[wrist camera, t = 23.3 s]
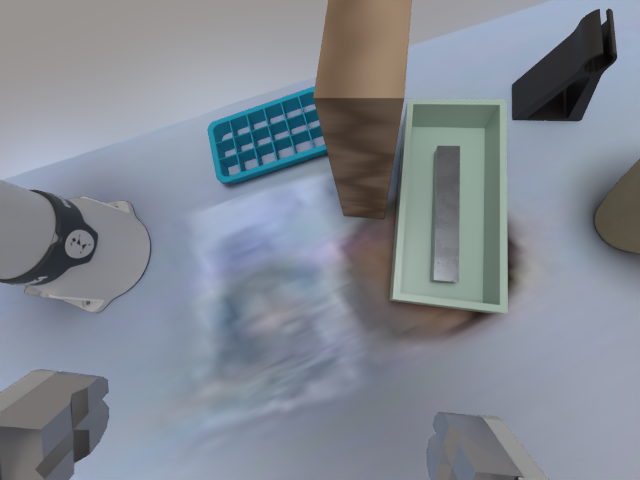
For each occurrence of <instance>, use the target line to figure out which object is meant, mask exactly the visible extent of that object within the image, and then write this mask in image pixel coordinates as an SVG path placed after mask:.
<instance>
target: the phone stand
mask: <svg viewBox="0 0 640 480" xmlns="http://www.w3.org/2000/svg"><path fill="white" fill-rule="evenodd" d="M606 14H607V21H606V22H605V23H603V24H602V25H601V20H600V9H598V10H595V11H593V12H591V13H589V14H588V15H586V16H585V17H584V18H583V19H582V20H581V21H580V23H579V25H578V26H577V28H576V29H575V31H574V32H573V33H572V34H571V35H570V36H569V37H567V38H566V39H565V40H564V41H563V42H562V43H560V44H559V45H558V46H557V47H556V48H555V49H553V50H552V51H551V52H550V53H549V54H548V55H546V56H545V57H544V58H543V59H542V60H540V61H539V62H538V63H537V64H536V65H535V66H533V67H532V68H531V69H530V70H529V71H528V72H526V73H525V74H524V75H523V76H522V77H521V78H519V79H518V80H517V81H516V82H515V83H514V84H513V85H512V92H513V120H536V121H544V120H547V121H580V120H582V118H583V115H584V113H585V111H586V109H587V106H588V104H589V102H590V100H591V97H592V95H593V93H594V91H595V89H596V86H597V84H598V82H599V80H600V77H601V75H602V74H603V72H604V71H605V70H606V69H607V68H608V67H609V66H611V65H612V64H613V63H614V62H615V61H616V59H617V51H616V41H615V31H614V21H613V12H612V10H611V9H608V10H607V11H606Z"/></svg>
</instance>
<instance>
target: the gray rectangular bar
mask: <svg viewBox="0 0 640 480" xmlns="http://www.w3.org/2000/svg"><path fill="white" fill-rule="evenodd" d="M459 218H460V146H437V148H436V150H435V153H434V164H433V198H432V231H431V265H430V282H439V283H450V284H455V283H458V282H459Z"/></svg>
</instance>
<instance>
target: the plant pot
mask: <svg viewBox="0 0 640 480" xmlns="http://www.w3.org/2000/svg"><path fill="white" fill-rule="evenodd" d="M595 227H596V229H597V231H598V233H599V235H600V236H601V237H602V238H603V239H604V240H605V241H606V242H607V243H608V244H610V245H611V246H613V247H615V248H617V249H621V250H624V251H629V252H635V253H640V159H639V160H638V161H637V162H636V163H635V164H634V165H633V166H632V167H631V168H630V170H629V171H628V172H627V173H626V174H625V175H624V176H623V177H622V178H621V179H620V180H619V181H618V183H617V184H616V185H615V186H614V187H613V188H612V190H611V191H610V192H609V194H608V195H607V196H606V198H605V199H604V200H603V202H602V203H601V205H600V206H599V208H598V209H597V211H596V214H595Z"/></svg>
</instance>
